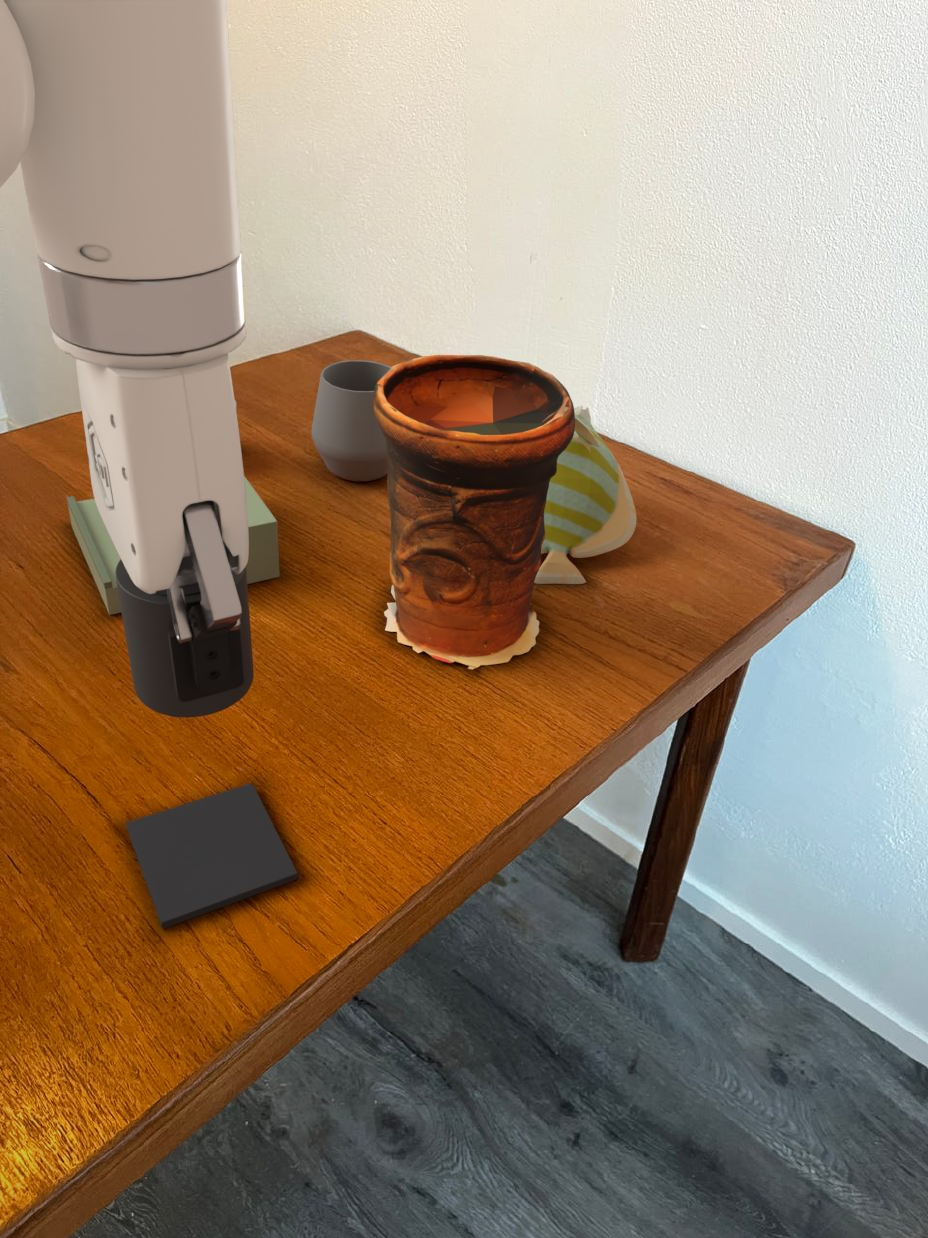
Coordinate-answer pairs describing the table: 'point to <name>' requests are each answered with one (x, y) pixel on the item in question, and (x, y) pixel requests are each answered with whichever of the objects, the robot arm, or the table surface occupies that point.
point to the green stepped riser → (106, 558)
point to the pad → (209, 854)
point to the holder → (151, 650)
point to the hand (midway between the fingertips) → (189, 648)
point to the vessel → (468, 500)
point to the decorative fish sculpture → (584, 505)
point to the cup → (350, 421)
